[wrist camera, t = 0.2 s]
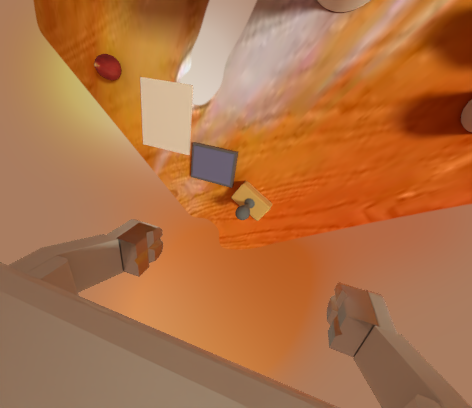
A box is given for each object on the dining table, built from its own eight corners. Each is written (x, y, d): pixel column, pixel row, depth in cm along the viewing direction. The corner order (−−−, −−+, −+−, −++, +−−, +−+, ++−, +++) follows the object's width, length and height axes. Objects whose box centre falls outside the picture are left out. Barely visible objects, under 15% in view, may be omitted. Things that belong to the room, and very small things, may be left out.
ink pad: (195, 142, 60) (192, 142, 59) (238, 151, 57) (236, 152, 56) (192, 175, 65) (190, 177, 63) (233, 186, 62) (231, 188, 60)
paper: (140, 77, 58) (140, 76, 58) (193, 85, 55) (192, 85, 54) (143, 143, 66) (143, 144, 66) (189, 155, 62) (189, 155, 62)
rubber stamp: (234, 193, 62) (218, 210, 52) (246, 179, 60) (231, 194, 49) (259, 216, 63) (248, 237, 52) (273, 203, 60) (264, 222, 49)
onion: (109, 73, 61) (82, 68, 54) (114, 52, 58) (87, 44, 51) (124, 86, 61) (100, 82, 54) (131, 65, 58) (105, 59, 51)
